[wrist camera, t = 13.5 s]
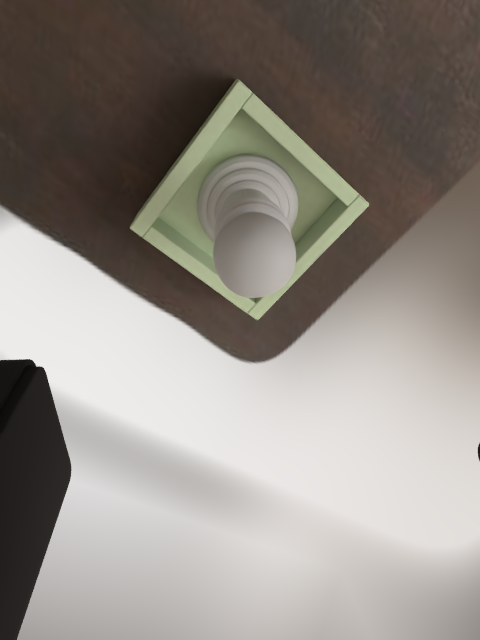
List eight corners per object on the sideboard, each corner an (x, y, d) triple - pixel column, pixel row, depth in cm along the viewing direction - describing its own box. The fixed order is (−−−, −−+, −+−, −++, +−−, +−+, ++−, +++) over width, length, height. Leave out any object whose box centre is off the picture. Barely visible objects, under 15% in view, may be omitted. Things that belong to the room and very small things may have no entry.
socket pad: (137, 213, 25) (128, 228, 22) (236, 78, 22) (238, 79, 19) (254, 300, 28) (257, 321, 25) (356, 192, 25) (370, 204, 22)
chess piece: (215, 262, 26) (213, 348, 18) (183, 169, 23) (166, 222, 15) (305, 236, 25) (345, 313, 17) (284, 138, 23) (319, 177, 15)
